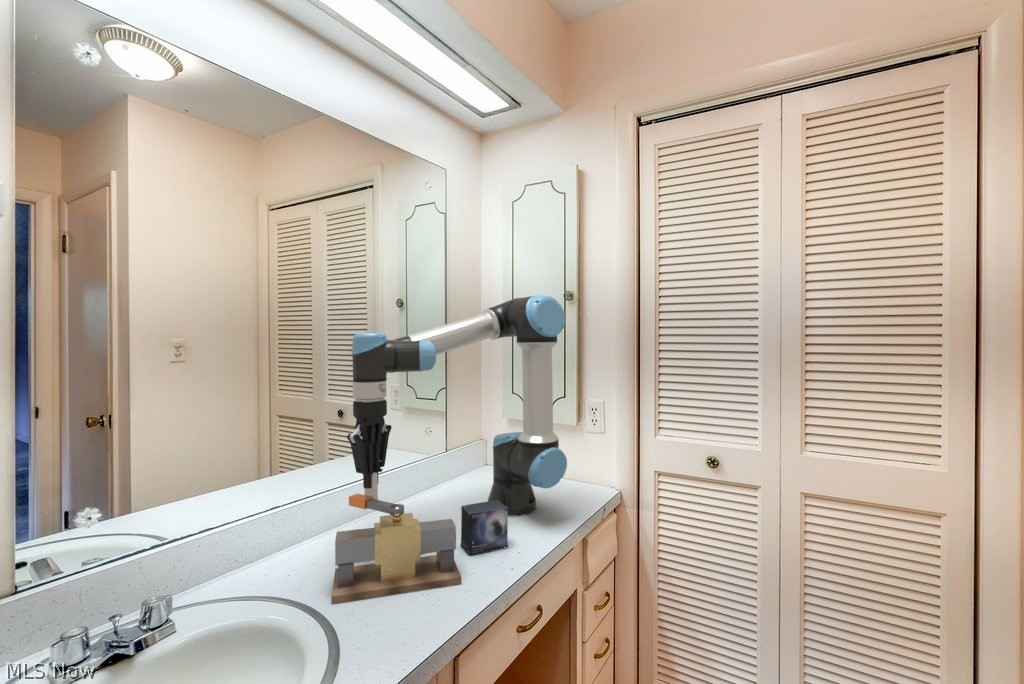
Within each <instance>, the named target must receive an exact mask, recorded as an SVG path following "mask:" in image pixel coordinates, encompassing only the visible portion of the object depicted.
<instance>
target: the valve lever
mask: <svg viewBox="0 0 1024 684" xmlns="http://www.w3.org/2000/svg"><path fill="white" fill-rule="evenodd" d="M349 506H350V507H353V508H358V509H362V510H367V509H369V510H374V511H377V512H382V513H385V514H389V515H392V516H399V515H402V514H405V505H404V504H402V503H393V502H388V501H384V500H379V499H378V500H376V499H374V497H371V496H366V495H365V494H362V493H355V494H352V495H350V496H348V507H349Z"/></svg>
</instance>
